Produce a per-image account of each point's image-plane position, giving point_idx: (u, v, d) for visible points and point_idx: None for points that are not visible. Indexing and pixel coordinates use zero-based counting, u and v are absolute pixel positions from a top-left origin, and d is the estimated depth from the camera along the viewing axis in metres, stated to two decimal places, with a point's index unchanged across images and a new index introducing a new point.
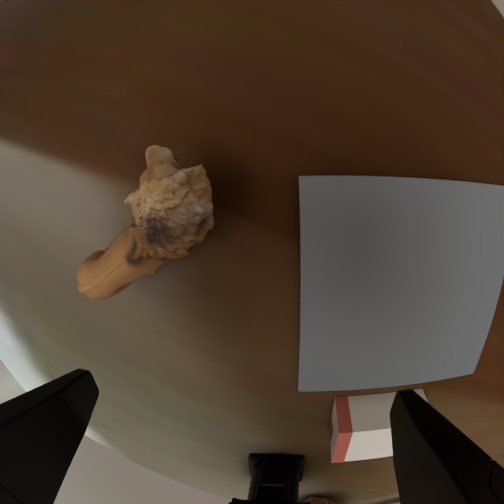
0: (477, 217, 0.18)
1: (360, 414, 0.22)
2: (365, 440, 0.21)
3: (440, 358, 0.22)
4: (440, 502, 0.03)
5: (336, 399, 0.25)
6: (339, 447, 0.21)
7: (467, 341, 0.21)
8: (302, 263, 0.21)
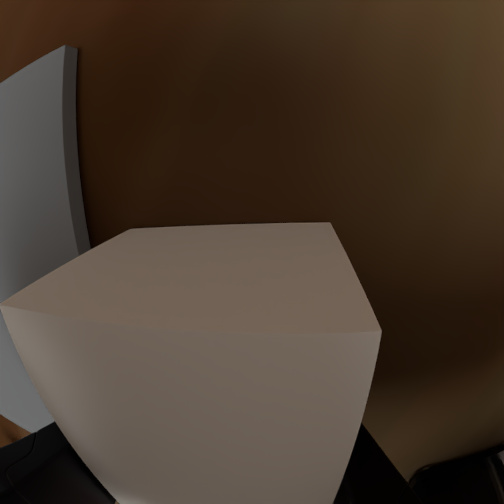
0: None
1: None
2: None
3: (16, 224, 0.07)
4: None
5: None
6: None
7: None
8: (15, 422, 0.13)
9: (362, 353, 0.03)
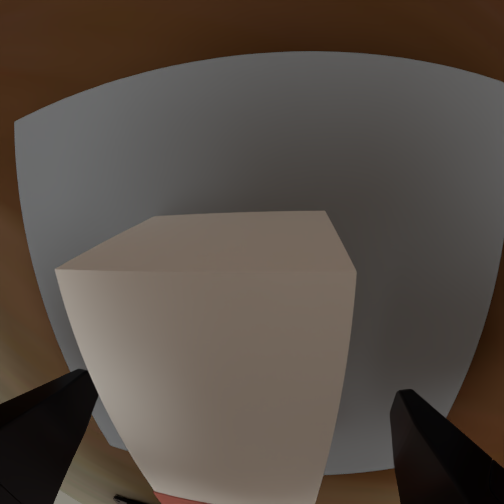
0: (402, 142, 0.07)
1: None
2: (188, 482, 0.06)
3: (341, 448, 0.11)
4: (440, 502, 0.03)
5: None
6: None
7: None
8: (33, 259, 0.10)
9: (344, 288, 0.04)
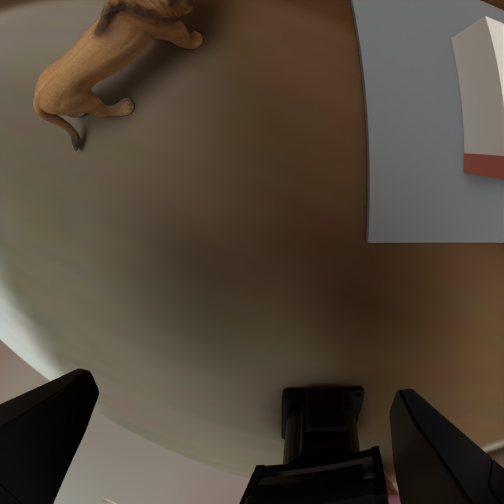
0: None
1: (484, 138, 0.12)
2: None
3: None
4: (440, 502, 0.03)
5: (466, 171, 0.14)
6: None
7: None
8: (361, 41, 0.13)
9: None
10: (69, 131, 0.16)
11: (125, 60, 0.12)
